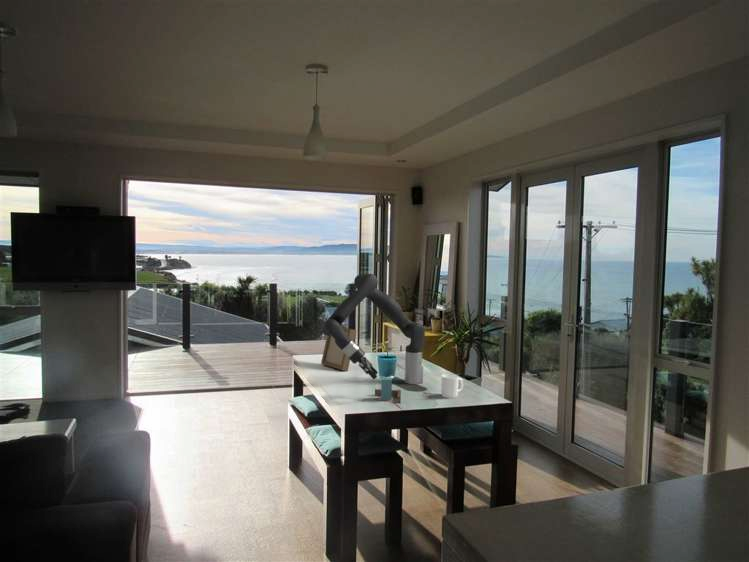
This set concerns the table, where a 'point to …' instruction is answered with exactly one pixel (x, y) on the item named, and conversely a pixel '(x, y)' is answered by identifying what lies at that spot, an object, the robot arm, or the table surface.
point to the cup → (450, 386)
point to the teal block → (386, 388)
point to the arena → (394, 393)
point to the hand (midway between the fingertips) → (376, 375)
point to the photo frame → (336, 352)
